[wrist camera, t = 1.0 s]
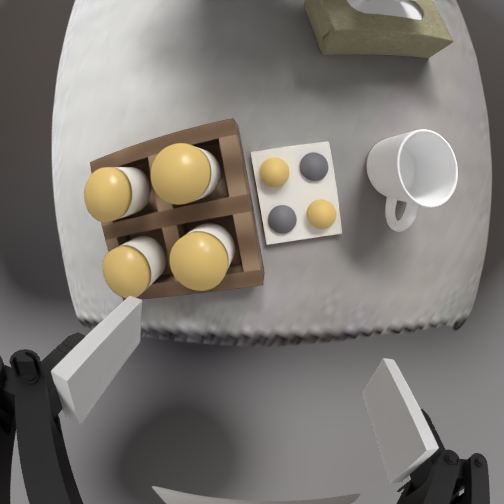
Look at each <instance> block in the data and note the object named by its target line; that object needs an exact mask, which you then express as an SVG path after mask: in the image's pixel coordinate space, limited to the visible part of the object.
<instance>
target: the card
mask: <svg viewBox="0 0 504 504" xmlns="http://www.w3.org/2000/svg"><path fill="white" fill-rule="evenodd" d="M250 153H251V158H252V164H253V169H254V175H255V180H256V186H257V192H258V197H259V203H260V209H261V214H262V220H263V226H264V232H265V238H266V244H267V245H269V244H275V243H282V242H288V241H295V240H302V239H308V238H315V237H322V236H328V235H335V234H342V228H341V219H340V211H339V202H338V195H337V188H336V181H335V174H334V168H333V162H332V156H331V150H330V144H329V141H328V142H319V143H310V144H302V145H295V146H287V147H281V148H274V149H268V150H262V151H256V152H250Z"/></svg>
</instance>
